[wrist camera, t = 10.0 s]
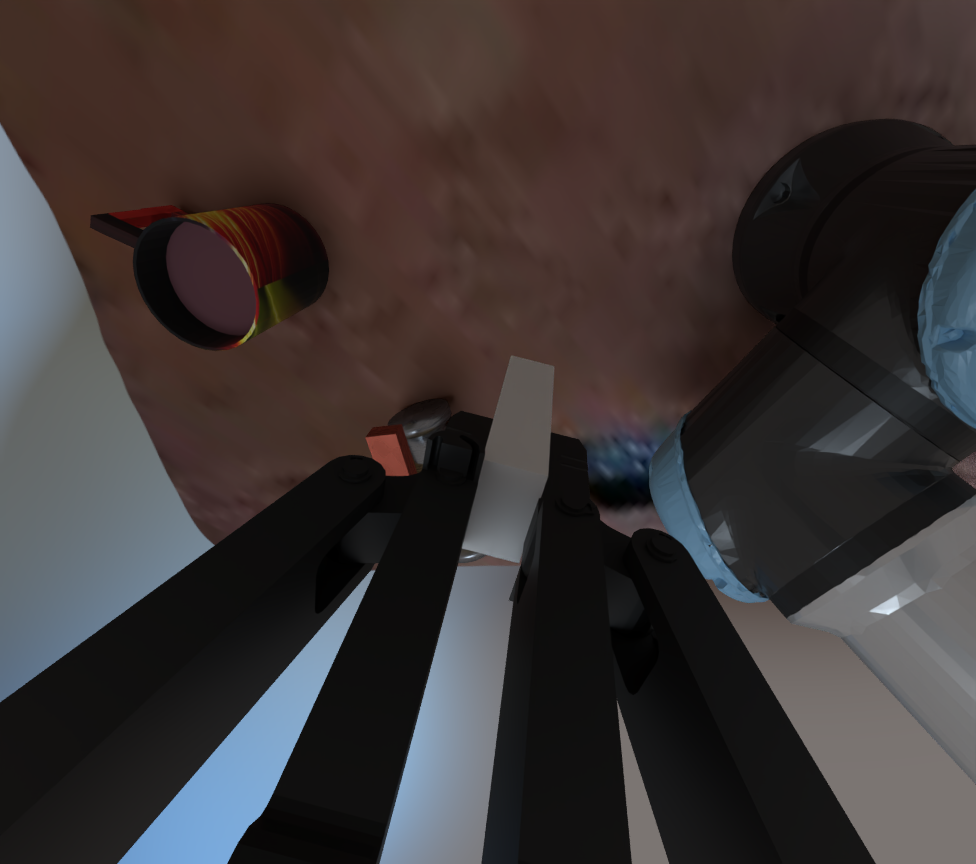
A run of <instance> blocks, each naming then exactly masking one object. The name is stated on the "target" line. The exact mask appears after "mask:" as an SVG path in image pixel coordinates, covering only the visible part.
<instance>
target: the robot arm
mask: <svg viewBox="0 0 976 864" xmlns="http://www.w3.org/2000/svg"><path fill="white" fill-rule="evenodd" d="M732 258H733V268H734V273H735V277H736V280H737V283H738V285H739V288H740V290H741V292H742V293H743V295H744V296H745V298H746V299H747V300H748V302H749V303H750V304H751V305H752V306H753V307H754V308H755V309H756V310H757V311H759V312H760V313H761V314H762V315H764V316H765V317H766V318H768V319H769V320H771V321H772V322H774V323H776V324H777V325H776V327H775V326H774V327H773V329H772V330H771V331H770V332H769V333H768V334H767V335H766V336H765V337H764V338H763V339H762V340H761V341H760V342H759V343H758V344H757V345H756V346H755V347H754V348H753V349H752V350H751V351H750V352H749V353H748V354H747V355H746V356H745V357H744V359H743V360H742V361H741V362H740V363H739V364H738V365H737V366H736V367H735V368H734V369H733V370H732V371H731V372H730V373H729V374H728V375H727V376H726V377H725V378H724V379H723V380H722V381H721V382H720V383H719V384H718V385H717V386H716V387H715V388H714V389H713V390H712V391H711V392H710V393H709V394H708V395H707V396H706V397H705V398H704V399H703V400H702V401H701V402H700V403H699V404H698V405H697V406H696V407H695V408H694V409H693V410H691V411H689V412H688V413H687V414H685V415H684V416H683V417H682V418H681V419H680V421H679V423H678V425H677V427H676V429H675V430H674V431H673V433H672V434H671V435H670V436H669V437H668V438H667V439H666V440H665V442H664V443H663V444H662V445H661V446H660V447H659V448H658V450H657V451H656V452H655V454H654V456H653V457H652V460H651V463H650V467H649V477H650V481H649V487H650V491H651V496H652V499H653V502H654V505H655V508H656V510H657V512H658V515H659V517H660V519H661V521H662V523H663V525H664V526H665V528H666V530H667V532H668V533H669V534H666V533H664V532H662V531H659V530H655V529H651V528H646V529H639V530H637V531H636V532H634V533H633V535H632V537H631V538H630V537H628V536H626V535H624V534H622V533H620V532H618V531H616V530H614V529H612V528H611V527H609V526H607V525H606V524H605V523H603V522H602V521H601V520H600V514H599V511H598V508H597V506H596V505H595V504H594V503H593V502H592V501H591V499H590V492H589V478H588V472H587V471H588V465H587V451H586V449H585V448H584V446H583V445H582V443H581V442H580V440H579V439H575V438H571V437H567V436H563V435H559V434H555V433H552V432H551V417H552V399H553V381H554V366H551V365H547V364H543V363H539V362H535V361H531V360H527V359H523V358H519V357H515V356H511V358H510V362H509V365H508V369H507V372H506V376H505V380H504V383H503V387H502V390H501V394H500V398H499V401H498V405H497V408H496V412H495V415H494V419H491V418H487V417H484V416H480V415H476V414H472V413H468V412H464V411H460V412H458V413H457V414H455V415H453V416H452V417H451V418H450V420H449V422H448V424H447V426H446V429H445V431H439V432H436V433H433V434H432V435H431V436H430V437H429V438H428V439H427V443H426V449H425V455H424V461H423V467H422V470H421V472H419V473H417V474H413V475H408V476H387V475H386V471H385V469H384V468H383V466H382V465H381V464H380V463H379V462H377V461H375V460H374V459H372V458H368V457H365V456H359V455H348V456H342V457H338V458H336V459H334V460H332V461H330V462H328V463H327V464H326V465H324V466H323V467H322V468H320V469H319V470H317V471H316V472H315V473H313V474H312V475H311V476H309V477H308V478H307V479H305V480H304V481H302V482H301V483H300V484H298V485H297V486H296V487H294V488H293V489H292V490H290V491H289V492H287V493H286V494H285V495H283V496H282V497H281V498H279V499H278V500H276V501H275V502H274V503H272V504H271V505H270V506H268V507H267V508H266V509H264V510H263V511H261V512H260V513H259V514H257V515H256V516H255V517H253V518H252V519H250V520H249V521H248V522H246V523H245V524H244V525H242V526H241V527H240V528H238V529H237V530H235V531H234V532H233V533H231V534H230V535H229V536H227V537H226V538H224V539H223V540H222V541H220V542H219V543H218V544H216V545H215V546H214V547H212V548H211V549H209V550H208V551H207V552H205V553H204V554H203V555H201V556H200V557H199V558H197V559H196V560H194V561H193V562H192V563H190V564H189V565H188V566H186V567H185V568H184V569H182V570H181V571H179V572H178V573H177V574H175V575H174V576H173V577H171V578H170V579H168V580H167V581H166V582H164V583H163V584H162V585H160V586H159V587H158V588H156V589H155V590H153V591H152V592H151V593H149V594H148V595H147V596H145V597H144V598H143V599H141V600H140V601H138V602H137V603H136V604H134V605H133V606H131V607H130V608H129V609H127V610H126V611H125V612H124V613H122V614H121V615H119V616H118V617H116V618H115V619H114V620H112V621H111V622H110V623H108V624H107V625H105V626H104V627H103V628H101V629H100V630H99V631H97V632H96V633H95V634H93V635H92V636H90V637H89V638H88V639H87V640H85V641H84V642H82V643H81V644H80V645H78V646H77V647H75V648H74V649H73V650H71V651H70V652H69V653H67V654H66V655H64V656H63V657H62V658H60V659H59V660H58V661H56V662H55V663H54V664H52V665H51V666H49V667H48V668H47V669H45V670H44V671H43V672H41V673H40V674H39V675H37V676H36V677H34V678H33V679H32V680H30V681H29V682H28V683H26V684H25V685H23V686H22V687H21V688H19V689H18V690H17V691H15V692H14V693H13V694H11V695H10V696H9V697H7V698H6V699H4V700H3V701H2V702H0V864H117V863H118V862H119V861H120V860H121V859H122V857H123V856H124V855H125V854H126V853H127V852H128V850H129V849H130V848H131V847H132V846H133V845H134V843H135V842H136V841H137V840H138V839H139V837H140V836H141V835H142V834H143V833H144V832H145V831H146V830H147V828H148V827H149V826H150V825H151V824H152V823H153V821H154V820H155V819H156V818H157V817H158V816H159V815H160V813H161V812H162V811H163V810H164V809H165V808H166V807H167V805H168V804H169V803H170V802H171V801H172V800H173V798H174V797H175V796H176V795H177V794H178V792H179V791H180V790H181V789H182V788H183V787H184V786H185V784H186V783H187V782H188V781H189V780H190V779H191V778H192V776H193V775H194V774H195V773H196V772H197V771H198V770H199V768H200V767H201V766H202V765H203V764H204V763H205V761H206V760H207V759H208V758H209V757H210V756H211V754H212V753H213V752H214V751H215V750H216V749H217V748H218V746H219V745H220V744H221V743H222V742H223V741H224V739H225V738H226V737H227V736H228V735H229V734H230V733H231V731H232V730H233V729H234V728H235V727H236V726H237V724H238V723H239V722H240V721H241V720H242V719H243V718H244V716H245V715H246V714H247V713H248V712H249V711H250V709H251V708H252V707H253V706H254V705H255V704H256V702H257V701H258V700H259V699H260V698H261V697H262V695H263V694H264V693H265V692H266V691H267V690H268V689H269V687H270V686H271V685H272V684H273V683H274V682H275V680H276V679H277V678H278V677H279V676H280V674H282V672H283V671H284V670H285V669H286V668H287V667H288V666H289V664H290V663H291V662H292V661H293V660H294V659H295V657H296V656H297V655H298V654H299V653H300V652H301V650H302V649H303V648H304V647H305V646H306V644H308V642H309V641H310V640H311V639H312V638H313V637H314V635H315V634H316V633H317V632H318V631H319V630H320V629H321V627H322V626H323V625H324V624H325V623H326V621H327V620H328V619H329V618H330V617H331V616H332V615H333V614H334V612H335V611H336V610H337V609H338V608H339V607H340V605H341V604H342V603H343V602H344V601H345V600H346V598H347V597H348V596H349V595H350V594H351V593H352V591H353V590H354V589H355V588H356V587H357V586H358V584H359V583H360V582H361V581H362V580H363V579H364V578H365V576H366V575H367V574H368V573H369V572H370V571H371V569H372V568H373V566H374V564H375V563H379V564H378V566H377V568H376V570H375V573H374V575H373V577H372V579H371V581H370V584H369V586H368V588H367V590H366V592H365V595H364V597H363V599H362V601H361V603H360V605H359V608H358V610H357V612H356V614H355V616H354V618H353V621H352V623H351V625H350V627H349V629H348V631H347V634H346V636H345V638H344V640H343V642H342V645H341V647H340V649H339V651H338V653H337V655H336V658H335V660H334V662H333V664H332V667H331V669H330V671H329V673H328V675H327V677H326V679H325V682H324V684H323V686H322V688H321V690H320V693H319V695H318V697H317V699H316V701H315V703H314V706H313V708H312V710H311V712H310V714H309V716H308V719H307V721H306V723H305V725H304V727H303V730H302V732H301V734H300V736H299V738H298V741H297V743H296V745H295V747H294V749H293V752H292V754H291V756H290V758H289V760H288V762H287V765H286V766H285V769H284V771H283V773H282V775H281V778H280V780H279V782H278V784H277V786H276V788H275V790H274V793H273V795H272V797H271V799H270V801H269V803H268V805H267V807H266V808H265V810H264V811H263V813H262V814H261V816H260V817H259V818H258V819H257V820H255V822H253V823H252V824H251V825H250V826H249V827H248V829H247V830H246V832H245V833H244V835H243V836H242V838H241V839H240V841H239V842H238V844H237V846H236V848H235V850H234V852H233V854H232V856H231V858H230V859H229V861H228V863H227V864H379V863H380V859H381V855H382V851H383V848H384V844H385V840H386V836H387V832H388V829H389V825H390V821H391V817H392V813H393V809H394V806H395V802H396V798H397V794H398V790H399V787H400V783H401V779H402V775H403V771H404V768H405V764H406V760H407V756H408V752H409V748H410V744H411V741H412V737H413V733H414V730H415V725H416V722H417V718H418V714H419V710H420V706H421V703H422V699H423V695H424V691H425V688H426V684H427V680H428V676H429V672H430V668H431V664H432V661H433V657H434V653H435V649H436V646H437V642H438V638H439V634H440V630H441V627H442V623H443V619H444V615H445V611H446V608H447V604H448V600H449V596H450V592H451V589H452V585H453V581H454V577H455V573H456V570H457V566H458V562H459V558H460V554H461V550H462V549H466V550H470V551H474V552H478V553H482V554H485V555H489V556H493V557H497V558H501V559H505V560H509V561H512V562H516V563H519V561H520V558H521V555H522V563H521V566H520V569H519V572H518V575H517V578H516V581H515V584H514V587H513V590H512V593H511V595H510V598H509V600H510V601H513V610H512V617H511V626H510V635H509V642H508V650H507V658H506V667H505V675H504V684H503V692H502V700H501V708H500V716H499V724H498V732H497V741H496V749H495V757H494V765H493V774H492V782H491V790H490V798H489V807H488V815H487V823H486V831H485V839H484V848H483V856H482V864H632V861H631V851H630V839H629V828H628V817H627V806H626V797H625V785H624V774H623V763H622V752H621V741H620V730H619V719H618V709H617V701H618V704H619V707H620V710H621V713H622V717H623V720H624V723H625V726H626V729H627V732H628V736H629V739H630V742H631V745H632V748H633V751H634V754H635V757H636V760H637V764H638V767H639V770H640V773H641V776H642V779H643V783H644V786H645V789H646V792H647V795H648V798H649V801H650V804H651V807H652V811H653V814H654V817H655V820H656V823H657V826H658V829H659V832H660V836H661V839H662V842H663V845H664V848H665V851H666V855H667V858H668V861H669V864H876V863H875V862H874V860H873V858H872V857H871V855H870V853H869V852H868V850H867V848H866V847H865V845H864V843H863V842H862V840H861V838H860V837H859V835H858V833H857V832H856V830H855V828H854V827H853V825H852V823H851V822H850V820H849V818H848V817H847V815H846V813H845V811H844V810H843V808H842V807H841V805H840V803H839V802H838V800H837V798H836V796H835V795H834V793H833V791H832V790H831V788H830V786H829V785H828V783H827V781H826V780H825V778H824V776H823V775H822V773H821V771H820V770H819V768H818V766H817V765H816V763H815V761H814V760H813V758H812V756H811V755H810V753H809V752H808V750H807V748H806V747H805V745H804V743H803V741H802V740H801V738H800V736H799V735H798V733H797V731H796V730H795V728H794V727H793V725H792V723H791V721H790V720H789V718H788V717H787V715H786V713H785V712H784V710H783V708H782V706H781V705H780V703H779V701H778V700H777V698H776V696H775V695H774V693H773V691H772V690H771V688H770V686H769V685H768V683H767V681H766V680H765V678H764V676H763V675H762V673H761V671H760V670H759V668H758V666H757V665H756V663H755V661H754V660H753V658H752V657H751V655H750V653H749V651H748V650H747V648H746V646H745V645H744V643H743V642H742V640H741V638H740V636H739V635H738V633H737V631H736V630H735V628H734V626H733V625H732V623H731V622H730V620H729V618H728V616H727V615H726V613H725V612H724V610H723V608H722V606H721V605H720V603H719V602H718V600H717V598H716V596H715V595H714V593H713V591H712V590H711V588H710V586H709V585H708V583H707V581H706V580H705V578H706V579H712V580H713V581H714V583H715V585H716V587H717V588H718V590H720V591H722V592H723V593H724V594H726V595H728V596H729V597H731V598H733V599H735V600H738V601H741V602H746V603H754V602H765V601H767V600H769V599H770V600H771V601H772V603H773V604H774V605H775V606H776V607H777V608H778V609H779V611H780V612H781V613H782V614H783V615H784V616H785V617H786V619H787V620H788V621H789V622H790V623H791V624H796V625H800V626H804V627H809V628H813V629H817V630H822V631H826V632H830V633H832V634H834V635H836V636H838V637H840V638H841V639H842V640H843V641H844V642H845V643H846V644H847V645H848V647H850V649H851V650H852V651H853V652H854V653H855V654H856V655H857V656H858V657H859V658H860V660H861V661H862V662H863V663H864V664H865V665H866V666H867V667H868V668H869V669H870V670H871V672H872V673H873V674H874V675H875V676H876V677H877V678H878V679H879V680H880V681H881V682H882V683H883V685H884V686H885V687H886V688H887V689H888V690H889V691H890V692H891V693H892V694H893V695H894V696H895V698H896V699H897V700H898V701H899V702H900V703H901V704H902V705H903V706H904V707H905V708H906V709H907V711H908V712H909V713H910V714H911V715H912V716H913V717H914V718H915V719H916V720H917V721H918V723H919V724H920V725H921V726H922V727H923V728H924V729H925V730H926V731H927V732H928V733H929V734H930V735H931V737H932V738H933V739H934V740H935V741H936V742H937V743H938V744H939V745H940V746H941V747H942V749H943V750H944V751H945V752H946V753H947V754H948V755H949V756H950V757H951V758H952V759H953V760H954V761H955V763H956V764H957V765H958V766H959V767H960V768H961V769H962V770H963V771H964V772H965V773H966V774H967V776H968V777H969V778H970V779H971V780H972V781H973V782H974V783H975V784H976V489H975V488H973V487H972V486H971V485H969V484H968V483H967V482H965V481H964V480H963V479H961V478H960V477H959V476H958V475H956V474H955V473H954V472H953V470H952V467H954V466H955V465H956V464H958V463H959V462H960V461H962V460H963V459H964V458H966V457H967V456H969V455H970V454H972V453H973V452H975V451H976V145H959V146H953V144H952V143H951V142H949V141H948V140H947V139H946V138H945V137H943V136H942V135H941V134H939V133H938V132H936V131H935V130H933V129H931V128H929V127H926V126H924V125H921V124H918V123H915V122H910V121H905V120H897V119H879V120H869V121H861V122H854V123H849V124H845V125H841V126H838V127H835V128H832V129H829V130H827V131H824V132H822V133H820V134H818V135H816V136H814V137H812V138H810V139H808V140H806V141H805V142H803V143H801V144H800V145H798V146H797V147H796V148H794V149H793V150H791V151H790V152H789V153H787V154H786V155H785V156H784V157H783V158H782V159H780V160H779V161H778V162H777V163H776V164H775V165H774V166H773V167H772V168H771V169H770V170H769V171H768V172H767V173H766V175H765V176H764V177H763V178H762V179H761V181H760V182H759V183H758V185H757V186H756V188H755V189H754V191H753V192H752V194H751V195H750V197H749V199H748V200H747V202H746V204H745V206H744V208H743V210H742V213H741V215H740V218H739V221H738V224H737V227H736V231H735V235H734V241H733V252H732ZM522 552H523V554H522Z"/></svg>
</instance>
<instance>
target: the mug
mask: <svg viewBox="0 0 976 864" xmlns="http://www.w3.org/2000/svg"><path fill="white" fill-rule="evenodd" d="M147 226H148V227H147ZM141 227H146V228H145V229H144V230H142V229H140V228H141ZM90 228H92V229H94V230H96V231H98V232H100V233H102V234H104V235H107V236H109V237H111V238H113V239H115V240H118V241H120V242H122V243H124V244H126V245H129V246H131V247H133V248H134V255H133V268H134V276H135V280H136V283H137V287H138V289H139V291H140V294H141V296H142V298H143V300H144V302H145V303H146V305H147V307H148V308H149V310H150V311H151V313H152V314H153V315H154V316H155V317H156V319H157V320H158V321H159V322H160V323H161V324H162V325H163V326H164V327H165V328H166V329H167V330H168V331H169V332H170V333H172V334H173V335H175V336H176V337H178V338H179V339H181V340H182V341H184V342H186V343H188V344H190V345H192V346H195V347H198V348H201V349H205V350H212V351H222V350H229V349H232V348H235V347H237V346H239V345H241V344H243V343H244V342H246V341H248V340H250V339H252V338H253V337H255V336H257V335H259V334H260V333H262V332H264V331H266V330H267V329H269V328H271V327H273V326H274V325H276V324H278V323H280V322H281V321H283V320H285V319H287V318H289V317H290V316H292V315H294V314H296V313H297V312H299V311H301V310H303V309H304V308H306V307H308V306H309V305H311V304H313V303H314V302H315V301H316V300H317V299H318V298H319V297H320V296H321V295H322V293H323V291H324V290H325V287H326V284H327V281H328V274H329V265H328V257H327V254H326V250H325V247H324V245H323V243H322V241H321V238H320V237H319V235H318V234H317V232H316V231H315V229H314V228H313V227H312V226H311V225H310V223H309V222H308V221H307V220H306V219H304V218H303V217H302V216H301V215H299V214H298V213H297V212H295V211H293V210H291V209H289V208H288V207H284V206H281V205H278V204H270V203H266V204H258V205H252V206H245V207H238V208H231V209H224V210H217V211H210V212H203V213H196V214H188V213H186V212H184V211H182V210H180V209H178V208H176V207H175V206H172V205H169V206H161V207H152V208H143V209H141V210H132V211H124V212H115V213H107V214H98V215H91V224H90Z"/></svg>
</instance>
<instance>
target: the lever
mask: <svg viewBox="0 0 976 864" xmlns="http://www.w3.org/2000/svg"><path fill="white" fill-rule="evenodd" d="M366 440H367V443H368V446H369V448H370V451H371V454H372V457H373V459H374V460H375V461H377V462H379V463H380V464H381V465H382V466H383V468H384V469H385V471H386V475H387V476H408V475H413V474H417V471H416V467H415V464H414V461H413V458H412V455H411V452H410V448H409V445H408V442H407V439H406V436H405V433H404V429H403V426H402V424H399V425H390V426H382V427H373V428H372V429H371V431H370V432H369V433H368V435H367V436H366Z"/></svg>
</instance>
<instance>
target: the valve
mask: <svg viewBox="0 0 976 864" xmlns="http://www.w3.org/2000/svg"><path fill="white" fill-rule="evenodd" d="M450 417H451V410H450V407H449V405H448V402H447V401H446V400H443V399H431V400H426V401H422V402H419V403H416V404H414V405H411V406H409V407H407V408H405V409H403V410H402V411H400V412H399V413H397V414H396V415H395V416H393V417H392V418H391V419H390V421H389V422H388V426H390V425H399V424H402V426H403V429H404V433H405V436H406V439H407V442H408V445H409V448H410V452H411V455H412V458H413V461H414V464H415V467H416V471H417V473H419V472H421V470H422V467H423V461H424V455H425V449H426V443H427V439H428V438H429V437H430V436H431V435H432V434H433V433H436V432H439V431H445V429H446V424H445V423H446V422H447V421H448V420H449V418H450ZM484 556H486V555H485V554H482V553H478V552H474V551H470V550H466V549H462V550H461V554H460V558H459V562H458V563H468V562H473V561H476V560H478V559H480V558H482V557H484Z"/></svg>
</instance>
